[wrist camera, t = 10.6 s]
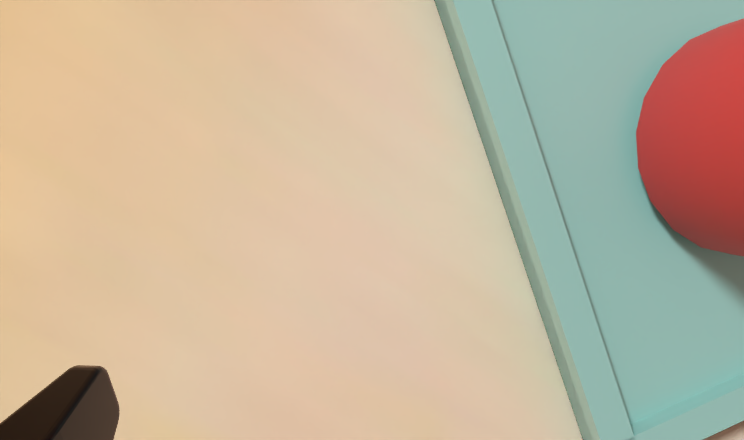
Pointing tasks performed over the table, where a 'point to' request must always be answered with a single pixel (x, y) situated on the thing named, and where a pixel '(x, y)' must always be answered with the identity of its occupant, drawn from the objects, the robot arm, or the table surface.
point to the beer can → (698, 140)
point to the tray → (604, 208)
